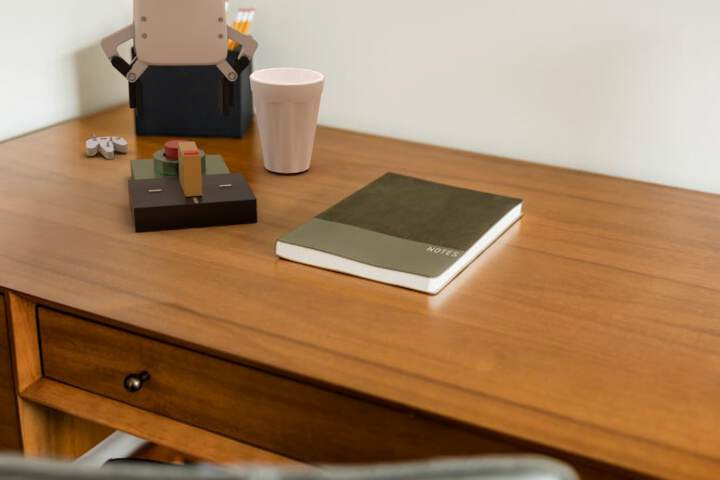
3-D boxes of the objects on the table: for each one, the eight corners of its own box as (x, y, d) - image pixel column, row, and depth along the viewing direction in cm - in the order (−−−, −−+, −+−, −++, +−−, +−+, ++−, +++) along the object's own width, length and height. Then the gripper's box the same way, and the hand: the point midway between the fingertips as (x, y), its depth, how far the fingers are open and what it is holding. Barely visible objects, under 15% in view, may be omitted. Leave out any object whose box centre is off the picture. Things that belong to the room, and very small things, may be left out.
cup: (287, 185, 118) (287, 87, 113) (235, 168, 124) (233, 74, 119) (338, 169, 126) (340, 76, 120) (287, 153, 131) (287, 64, 126)
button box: (136, 198, 112) (134, 167, 111) (131, 175, 120) (129, 146, 119) (232, 191, 116) (231, 161, 114) (220, 169, 124) (219, 141, 122)
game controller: (98, 162, 125) (96, 144, 124) (57, 144, 132) (55, 127, 131) (134, 154, 129) (132, 136, 128) (92, 137, 136) (90, 120, 135)
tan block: (179, 181, 109) (177, 140, 107) (196, 180, 110) (194, 139, 108) (185, 197, 105) (183, 153, 102) (202, 195, 105) (200, 152, 103)
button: (166, 162, 115) (166, 148, 114) (163, 153, 118) (163, 140, 117) (195, 160, 116) (194, 147, 115) (191, 152, 119) (190, 139, 118)
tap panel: (135, 232, 102) (133, 206, 101) (129, 202, 111) (127, 178, 110) (257, 222, 106) (256, 197, 105) (241, 194, 115) (241, 170, 114)
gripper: (251, -43, 103) (250, 104, 109) (94, -47, 98) (102, 107, 104) (264, -36, 96) (262, 120, 103) (97, -40, 91) (105, 124, 98)
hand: (182, 113), depth 104 cm, fingers open, 9 cm apart
